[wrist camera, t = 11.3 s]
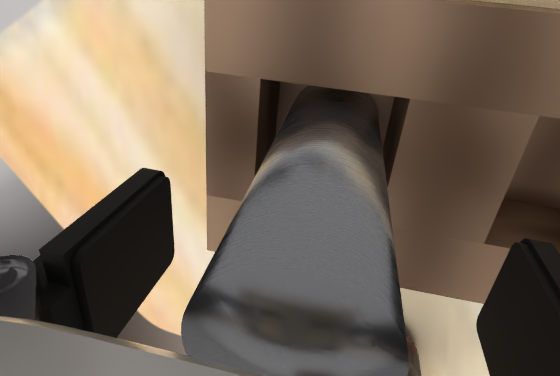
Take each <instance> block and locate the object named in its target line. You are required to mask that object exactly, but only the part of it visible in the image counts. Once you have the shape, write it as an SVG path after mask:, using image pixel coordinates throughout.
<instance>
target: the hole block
mask: <svg viewBox="0 0 560 376" xmlns="http://www.w3.org/2000/svg"><path fill="white" fill-rule="evenodd" d="M308 85H312V86H319V87H327V88H334V89H341V90H349V91H356V92H364V93H369V94H370V95H371V96H372V98H373V100H374V102H375V104H376V107H377V112H378V119H379V127H380V135H381V143H382V151H383V159H384V167H385V175H386V183H387V190H388V198H389V206H390V214H391V222H392V230H393V238H394V246H395V253H396V261H397V269H398V277H399V285H400V288H405V289H410V290H415V291H420V292H426V293H431V294H436V295H441V296H446V297H451V298H456V299H462V300H467V301H472V302H477V303H482V304H484V303H485V301H486V299H487V297H488V295H489V292H490V290H491V288H492V286H493V284H494V282H495V280H496V278H497V276H498V274H499V271H500V269H501V267H502V265H503V263H504V261H505V259H506V257H507V255H508V253H509V250H510V248H511V246H512V245H513V244H514V243H516V242H518V243H520V242H521V241H522V240H523V239H525V238H527V239H533V240H538V241H544V242H549V243H552V244H553V245H554V246H555V248H556V249H557V251H558V252H559V254H560V9H551V8H541V7H531V6H521V5H511V4H501V3H491V2H482V1H472V0H205V92H206V184H207V250H210V251H215V252H216V250H217V248H218V246H219V244H220V242H221V240H222V238H223V237H224V235H225V233H226V231H227V229H228V227H229V225H230V223H231V221H232V219H233V218H234V216H235V214H236V212H237V210H238V208H239V206H240V204H241V202H242V200H243V198H244V197H245V195H246V193H247V191H248V189H249V187H250V185H251V183H252V181H253V179H254V178H255V176H256V174H257V172H258V170H259V168H260V166H261V164H262V162H263V160H264V158H265V157H266V155H267V153H268V151H269V149H270V147H271V145H272V143H273V141H274V139H275V138H276V136H277V134H278V132H279V130H280V128H281V126H282V124H283V122H284V120H285V118H286V117H287V115H288V113H289V111H290V109H291V107H292V105H293V103H294V101H295V99H296V98H297V96H298V95H299V93H300V92H301V91H302V90H303V89H304V88H305V87H306V86H308Z"/></svg>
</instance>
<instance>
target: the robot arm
mask: <svg viewBox="0 0 560 376" xmlns="http://www.w3.org/2000/svg"><path fill="white" fill-rule="evenodd" d="M39 251H40V256H39V257H38V258H36V259H35V260H34V261H32V260H31V259H30V258H28V257H25V256H22V255H6V256H0V376H266V375H262V374H258V373H254V372H250V371H246V370H242V369H238V368H234V367H231V366H227V365H223V364H219V363H215V362H211V361H207V360H203V359H199V358H195V357H191V356H187V355H182V354H179V353H175V352H171V351H167V350H162V349H159V348H154V347H151V346H147V345H143V344H139V343H134V342H131V341H127V340H123V339H119V338H117V336H118V335H119V334H120V332H121V331H122V330H123V328H124V327H125V326H126V324H127V323H128V321H129V320H130V319H131V317H132V316H133V315H134V313H135V312H136V310H137V309H138V308H139V306H140V305H141V304H142V302H143V301H144V300H145V298H146V297H147V295H148V294H149V293H150V291H151V290H152V289H153V287H154V286H155V284H156V283H157V282H158V280H159V279H160V278H161V276H162V275H163V273H164V272H165V271H166V269H167V268H168V267H169V265H170V264H171V262H172V260H173V257H174V236H173V220H172V204H171V187H170V180H169V178H168V177H165V174H164V173H163V172H162V171H158V170H152V169H147V168H142V169H140V170H139V171H138V172H136V173H135V174H134V175H132V176H131V177H130V178H129V179H127V180H126V181H125V182H124V183H122V184H121V185H120V186H119V187H117V188H116V189H115V190H114V191H112V192H111V193H110V194H109V195H107V196H106V197H105V198H104V199H102V200H101V201H100V202H98V203H97V204H96V205H95V206H93V207H92V208H91V209H90V210H88V211H87V212H86V213H85V214H83V215H82V216H81V217H80V218H78V219H77V220H76V221H75V222H73V223H72V224H71V225H69V226H68V227H67V228H66V229H64V230H63V231H62V232H61V233H60V234H58V235H57V236H56V237H54V238H53V239H52V240H51V241H49V242H48V243H47V244H46V245H44V246H43V247H42V248H41V249H39ZM476 326H477V333H478V336H479V340H480V343H481V346H482V350H483V353H484V357H485V360H486V363H487V367H488V370H489V374H490V376H560V254H559V252H558V251H557V249H556V248H555V246H554V245H553V244H552V243H549V242H544V241H538V240H533V239H527V238H525V239H523V240H522V241H521V242H520V243H518V242H516V243H514V244H513V245H512V246H511V248H510V250H509V253H508V255H507V257H506V259H505V261H504V263H503V265H502V267H501V269H500V271H499V274H498V276H497V278H496V280H495V282H494V284H493V286H492V288H491V290H490V292H489V295H488V297H487V299H486V301H485V303H484V305H483V307H482V309H481V311H480V313H479V316H478V318H477V325H476Z"/></svg>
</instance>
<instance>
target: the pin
mask: <svg viewBox="0 0 560 376" xmlns="http://www.w3.org/2000/svg"><path fill="white" fill-rule="evenodd" d="M181 335H182V341H183V345H184V348H185V351H186V354H187V356H191V357H195V358H199V359H203V360H207V361H211V362H215V363H219V364H223V365H227V366H231V367H234V368H238V369H242V370H246V371H250V372H254V373H258V374H262V375H266V376H407V375H408V371H409V356H408V348H407V340H406V332H405V324H404V317H403V309H402V301H401V293H400V285H399V277H398V269H397V261H396V253H395V246H394V238H393V230H392V222H391V214H390V206H389V198H388V190H387V183H386V175H385V167H384V159H383V151H382V143H381V135H380V127H379V119H378V112H377V107H376V104H375V102H374V100H373V98H372V96H371V95H370V94H369V93H364V92H356V91H349V90H341V89H334V88H327V87H319V86H312V85H308V86H306V87H305V88H304V89H303V90H302V91H301V92H300V93H299V95H298V96H297V98H296V99H295V101H294V103H293V105H292V107H291V109H290V111H289V113H288V115H287V117H286V118H285V120H284V122H283V124H282V126H281V128H280V130H279V132H278V134H277V136H276V138H275V139H274V141H273V143H272V145H271V147H270V149H269V151H268V153H267V155H266V157H265V158H264V160H263V162H262V164H261V166H260V168H259V170H258V172H257V174H256V176H255V178H254V179H253V181H252V183H251V185H250V187H249V189H248V191H247V193H246V195H245V197H244V198H243V200H242V202H241V204H240V206H239V208H238V210H237V212H236V214H235V216H234V218H233V219H232V221H231V223H230V225H229V227H228V229H227V231H226V233H225V235H224V237H223V238H222V240H221V242H220V244H219V246H218V248H217V250H216V252H215V254H214V256H213V258H212V259H211V261H210V263H209V265H208V267H207V269H206V271H205V273H204V275H203V277H202V279H201V280H200V282H199V284H198V286H197V288H196V290H195V292H194V294H193V296H192V298H191V299H190V301H189V303H188V305H187V308H186V310H185V312H184V315H183V319H182V324H181Z"/></svg>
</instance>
